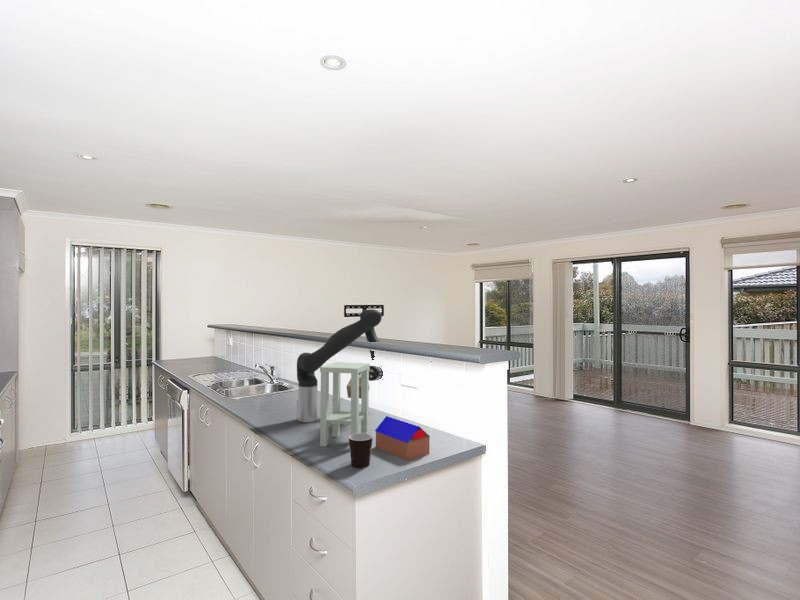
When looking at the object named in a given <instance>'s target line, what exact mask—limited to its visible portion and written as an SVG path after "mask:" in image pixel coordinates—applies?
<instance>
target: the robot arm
mask: <svg viewBox="0 0 800 600" xmlns="http://www.w3.org/2000/svg"><path fill="white" fill-rule="evenodd" d="M359 316H360V317H359V320H357V321H355V322H353V323H351V324H349V325H346V326H344V327H342V328H340V329H339V330H338V331H336V332H335V333H333V334H332V335H331V336H330V337H329V338H328V339H327V340H326V342H325V343H324V344H323V346H321V347H320V348H318V349H316V350H315V351H314V352H312V353H311V352H303V353H301V354H299V355H298V357H297V361H296V378H297V384H298V393H297V394H298V397H297V398H298V400H297V401H296V420H297V421H298V422H300V423H307V424H308V423H314V422H317V421H318V383H319V382H318V379H317V377H316V374H315V372H316V371H317V370H320V367H322V366H324V364H325V363H326V362H327V361H329V360H330V359H331V358H332V357H334V356H335V355H337V354H338V353H340V352H341V351H342V350H344V349H345V348H347V347H348V346H350V345H351V344H352V343H353V342H355V341H357V339H359V338H360V337H361V336H362V335H364V334H365V335H364V336H365V337H366V341H367V342H368V341H369V342H380V343H381V341H380V339H379V338H378V336H377V334H376V330H375V327H377V326H379V325H380V323H381V322H382V316H383V315H382V313H381V311H379V310H378V309H373V308H372V309H369V308H367V309H364V310H362V312H361V313H360V314H359ZM369 354H370V359H371V358H372V359H371V361H372V360H374V359H373V358H374V357H375V356H374V351H371V350H370V349H369ZM380 367H381V366H377V365H370V371H369V382H373V381H380V380H379V379H381V378H382V376H383V371H382V369H381V368H380ZM360 374H361V372H360V373H359V376H360Z"/></svg>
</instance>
